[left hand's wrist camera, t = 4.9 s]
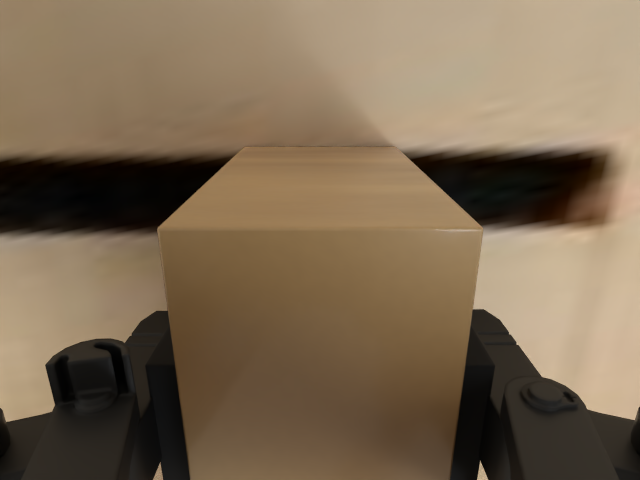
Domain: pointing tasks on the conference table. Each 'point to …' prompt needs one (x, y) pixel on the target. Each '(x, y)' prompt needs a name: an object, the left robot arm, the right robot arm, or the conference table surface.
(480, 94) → the conference table surface
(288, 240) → the bar
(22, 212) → the conference table surface
